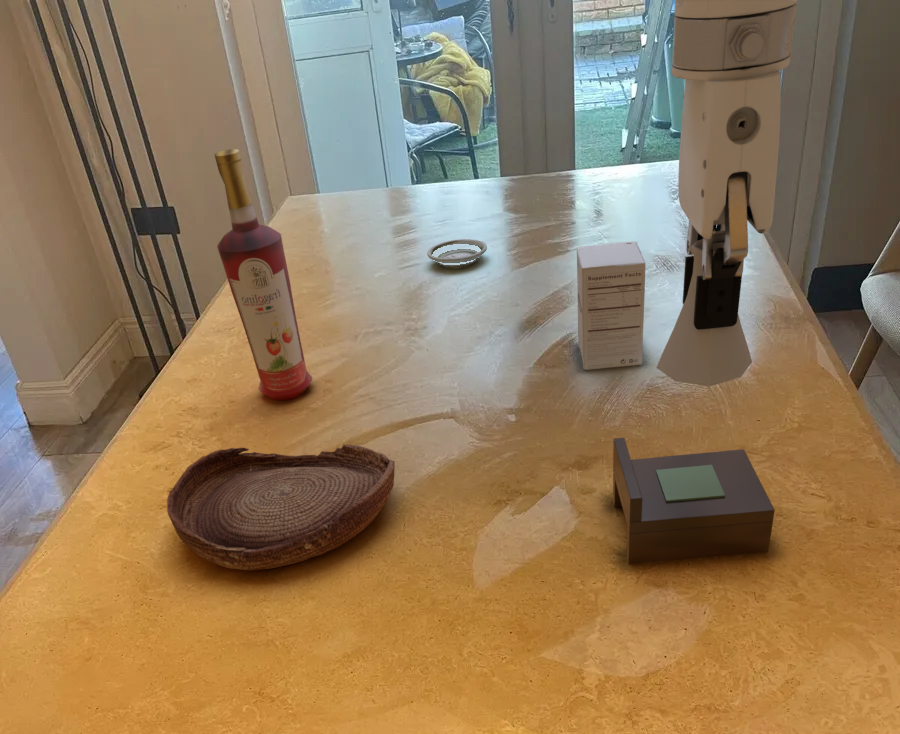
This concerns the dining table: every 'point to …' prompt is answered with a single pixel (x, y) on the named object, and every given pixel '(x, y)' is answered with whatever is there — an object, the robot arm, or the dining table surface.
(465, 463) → the dining table surface
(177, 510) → the basket
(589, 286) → the white packaging box
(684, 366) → the flask
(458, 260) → the saucer
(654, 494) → the brown toy bed
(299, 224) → the dining table surface
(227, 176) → the liquor
